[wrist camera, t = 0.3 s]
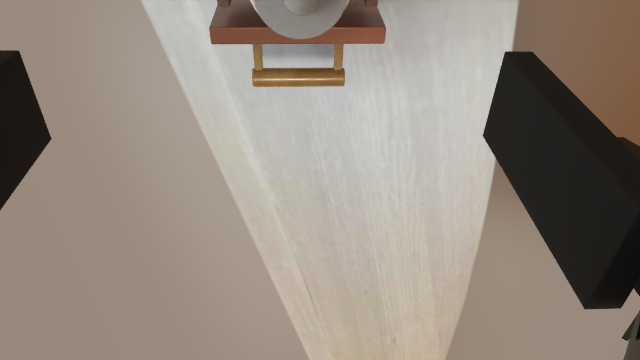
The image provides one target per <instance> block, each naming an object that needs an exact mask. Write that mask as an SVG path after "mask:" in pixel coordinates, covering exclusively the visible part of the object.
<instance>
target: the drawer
mask: <svg viewBox="0 0 640 360" xmlns="http://www.w3.org/2000/svg"><path fill="white" fill-rule="evenodd" d="M217 2H218V5H217V8H216V11H215V14H214V17H213V19H212V22H211V25H210V28H209V29H210V37H211V43H212V44H253V51H254V66H255V68H253V70H252V81H253V86H254V87H308V86H344V83H345V71H344V68H342V60H343V44H383V43H384V42H385V33H386V27H385V24H384V22H383V20H382V17H381V15H380V13H379V10H378V8H377V3H378V0H350V1H349V3H348V5H347V7H346V8H345V10H344V12H343V14H342V15H341V17H340V19H339V20H338V21H337V23H336V24H335V25H334V26H333V27H332V28H331V29H329V30H328V31H326V32H325V33H323V34H321V35H319V36H317V37H314V38H309V39H293V38H288V37H285V36H282V35H280V34H278V33H277V32H275V31H273V30H272V29H271V28H270V27H268V26H267V24H266V23H265V22H264V21H263V20H262V18H261V17H260V15H259V14H258V13H257V12H256V10H255V9H254V7H253V6H252V4H251V2H250V0H217ZM262 44H335V46H334V68H263V58H262Z"/></svg>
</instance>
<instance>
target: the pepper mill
mask: <svg viewBox="0 0 640 360" xmlns="http://www.w3.org/2000/svg"><path fill="white" fill-rule="evenodd" d="M349 1H350V0H250V2H251V4H252V6H253V7H254V9H255V10H256V12H257V13H258V14H259V15H260V17H261V18H262V20H263V21H264V22H265V23H266V24H267V26H268V27H270V28H271V29H272V30H273V31H275V32H277V33H278V34H280V35H282V36H285V37H288V38H293V39H309V38H314V37H317V36H319V35H321V34H323V33H325V32H326V31H328V30H329V29H331V28H332V27H333V26H334V25H335V24H336V23H337V21H338V20H339V19H340V17H341V15H342V14H343V12H344V10H345V8H346V7H347V5H348V3H349Z"/></svg>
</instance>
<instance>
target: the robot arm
mask: <svg viewBox="0 0 640 360" xmlns="http://www.w3.org/2000/svg"><path fill="white" fill-rule="evenodd" d="M483 137H484V139H485V140H486V142H487V144H488V145H489V147H490V149H491V150H492V152H493V154H494V156H495V157H496V159H497V161H498V162H499V164H500V166H501V167H502V169H503V171H504V173H505V174H506V176H507V178H508V179H509V181H510V183H511V184H512V186H513V188H514V190H515V191H516V193H517V194H518V196H519V198H520V200H521V202H522V203H523V205H524V207H525V208H526V210H527V212H528V213H529V215H530V217H531V219H532V220H533V222H534V223H535V225H536V227H537V229H538V230H539V232H540V234H541V236H542V237H543V239H544V241H545V242H546V244H547V246H548V248H549V249H550V251H551V253H552V254H553V256H554V258H555V259H556V261H557V263H558V264H559V266H560V268H561V270H562V271H563V273H564V275H565V276H566V278H567V280H568V282H569V283H570V285H571V287H572V288H573V290H574V292H575V293H576V295H577V297H578V298H579V300H580V302H581V303H582V305H583V307H584V309H612V308H621V307H622V306H623V304H624V303H625V301H626V299H627V298H628V296H629V294H630V293H631V291H632V290H633V288H634V289H635V290H636V292H637V293H638V295H639V296H640V146H638V145H636V144H634V143H633V142H630V141H629V140H627V139H626V138H624V137H616V136H615V135H614V134H613V133H612V132H611V131H610V130H609V129H608V128H607V127H606V126H605V125H604V124H603V123H602V122H601V121H600V120H599V119H598V118H597V117H596V116H595V115H594V114H593V113H592V112H591V111H590V110H589V109H588V108H587V107H586V106H585V105H584V104H583V103H582V102H581V101H580V100H579V99H578V98H577V97H576V96H575V95H574V94H573V93H572V92H571V91H570V90H569V89H568V88H567V87H566V85H565V84H563V82H562V81H561V80H559V78H557V76H556V75H555V74H554V73H553V72H552V71H551V70H550V69H549V68H548V67H547V66H546V65H545V64H544V63H543V62H542V61H541V60H540V59H539V58H538V57H537V56H536V55H535V54H534V53H533V52H505V54H504V58H503V62H502V66H501V69H500V73H499V77H498V81H497V84H496V88H495V92H494V96H493V100H492V103H491V107H490V111H489V115H488V118H487V122H486V126H485V130H484V133H483ZM50 140H51V137H50V134H49V131H48V129H47V126H46V123H45V120H44V118H43V115H42V112H41V109H40V107H39V104H38V101H37V99H36V96H35V93H34V90H33V88H32V85H31V82H30V79H29V77H28V74H27V72H26V69H25V66H24V63H23V61H22V58H21V55H20V52H19V51H0V210H1V208H2V207H3V206H4V204H5V203H6V201H7V200H8V199H9V197H10V196H11V194H12V193H13V192H14V190H15V189H16V187H17V186H18V185H19V183H20V182H21V181H22V179H23V178H24V176H25V175H26V173H27V172H28V171H29V169H30V168H31V166H32V165H33V164H34V162H35V161H36V160H37V158H38V157H39V155H40V154H41V153H42V151H43V150H44V148H45V147H46V145H47V144H48V143H49V141H50ZM622 338H623V339H624V340H627V341H628V340H629V339H630V340H629V344H628V347H627V350H626V353H625V357H624V360H640V311H639V313H638V314H637V316H636V317H635V319H634V320H633V322H632V323H631V325H630V326H629V328H628V329H627V331H626V332H625V334H624V335H623V337H622Z"/></svg>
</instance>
